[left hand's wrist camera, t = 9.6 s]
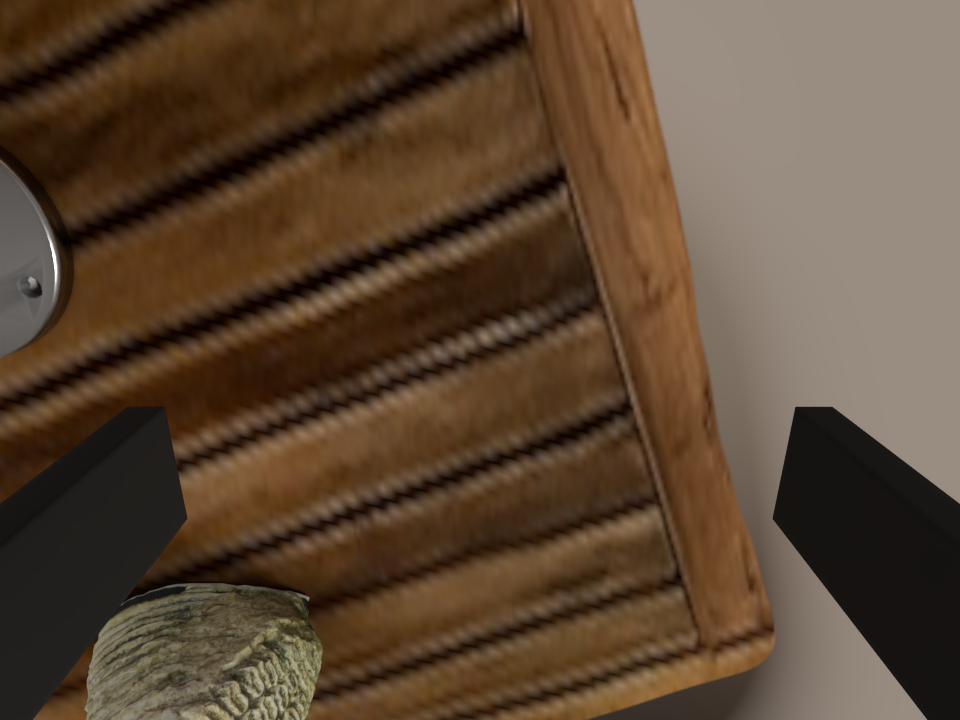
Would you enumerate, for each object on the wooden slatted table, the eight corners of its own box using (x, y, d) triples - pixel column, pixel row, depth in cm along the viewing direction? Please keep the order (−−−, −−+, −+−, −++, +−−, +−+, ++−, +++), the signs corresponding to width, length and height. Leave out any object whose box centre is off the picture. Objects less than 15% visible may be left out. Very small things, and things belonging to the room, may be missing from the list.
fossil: (349, 633, 50) (298, 828, 36) (148, 676, 52) (24, 878, 37) (312, 549, 47) (240, 725, 33) (99, 597, 49) (-56, 785, 34)
